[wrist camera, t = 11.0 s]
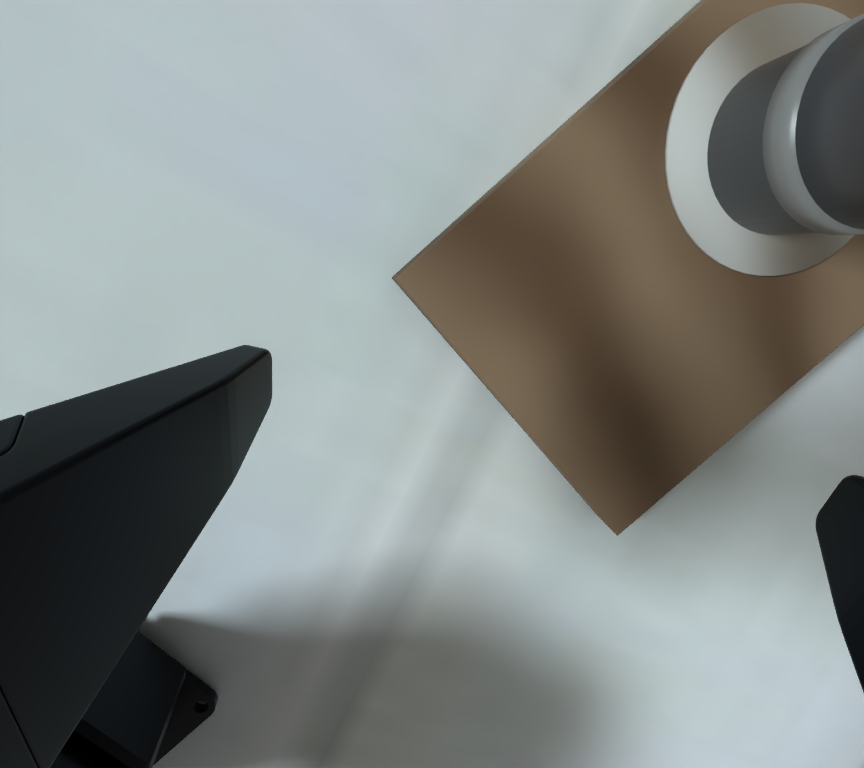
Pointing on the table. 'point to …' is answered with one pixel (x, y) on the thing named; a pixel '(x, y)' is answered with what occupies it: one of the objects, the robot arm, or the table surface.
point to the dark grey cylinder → (795, 140)
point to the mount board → (642, 272)
